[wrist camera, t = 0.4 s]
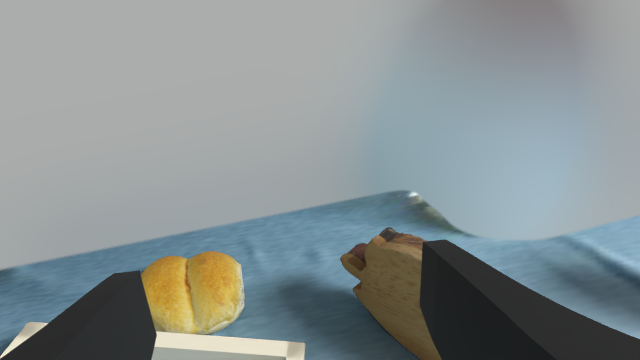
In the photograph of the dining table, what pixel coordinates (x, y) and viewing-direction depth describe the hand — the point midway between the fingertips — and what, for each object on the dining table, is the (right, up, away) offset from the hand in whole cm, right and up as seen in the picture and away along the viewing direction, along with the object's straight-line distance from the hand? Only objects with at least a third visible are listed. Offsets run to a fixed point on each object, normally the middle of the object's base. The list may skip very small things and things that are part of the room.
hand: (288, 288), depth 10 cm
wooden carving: (+9, -11, +21) cm, 25 cm away
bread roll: (-10, -8, +24) cm, 27 cm away
